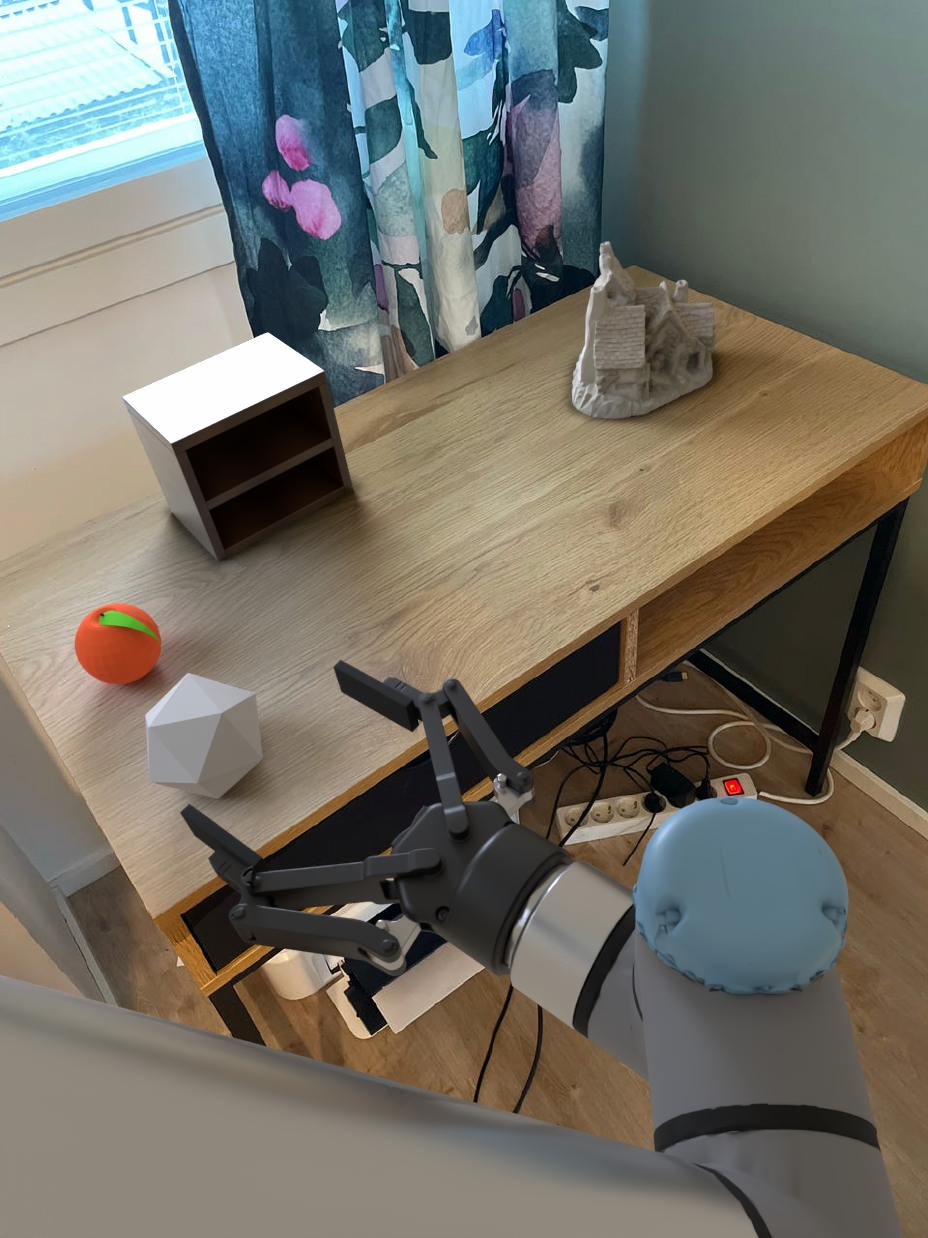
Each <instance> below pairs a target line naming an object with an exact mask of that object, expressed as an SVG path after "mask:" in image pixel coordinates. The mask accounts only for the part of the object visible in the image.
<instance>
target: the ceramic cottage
mask: <svg viewBox="0 0 928 1238" xmlns="http://www.w3.org/2000/svg"><path fill="white" fill-rule="evenodd" d="M599 253H600V255H599V257H598V259H599V260H598V261H599V270H600V275H599V277H598V278H597V279H596V280H595V281H594V284H593V286H592V287H591V289H590V293H589V300H588V303H587V309H586V313H585V334H584V337H585V339H584V346H583V348H582V351H581V353H580V354H579V356H578V361H576V365H575V369H574V370H573V372H572V375H573V380H572V381H571V382H572V389H571V396H572V398H571V400H572V405H573V406H574V407H575V409H576V410H577V411H578V412H580V413H581V414H583V415H586V416H588V417H592V418H595V419H604V420H605V419H606V420H608V419H610V420H612V419H613V420H618V419H625V418H631V417H632V416H633V417H635V416H636V417H637V416H643V415H646V414H649V413H650V412H652V411H655V410H657V409H658V408H660V407H662V406H664V405H667V404H669V403H671V402H672V401H674V400H677V399H678V398H679V397H681V396H685V395H686V394H689V393H691V392H693V391H695V390H697V389H700V388H703V387H704V386H705V385H706V384H707V383H708V382H711V380H712V377H713V374H714V372H713V371H714V370H713V367H714V366H713V359H712V354H713V352H714V350H713V348H714V347H715V346H716V342H715V340H716V336H717V333H716V332H715V329H716V326H714V323H715V313H714V302H697V303H696V302H695V303H693V302H692V303H691V302H689V283H688V281H687V280H685V279H679V280H677V281H676V283H675V289H674V288H672V286H671V285H670V284H668V282H666V281H665V280H663V281H662V282H660V283H659V286H646V287H637V286H636V285H635V283H634V280H633V279H632V277H631V276H630V274H629V273H628V272H627V271H626V270H625V269H624V268H623V267H622V265H621V263H620V260H619V259H618V258H617V257H616V256H615V253H614V251H613V247H612V245H611V242H610V241H604V242H602V243H600V246H599Z"/></svg>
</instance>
